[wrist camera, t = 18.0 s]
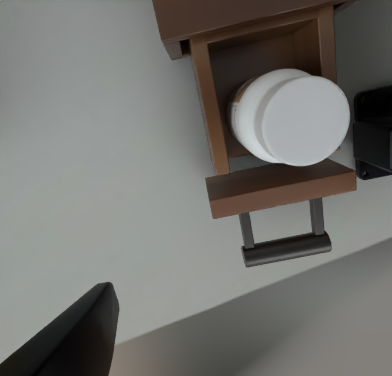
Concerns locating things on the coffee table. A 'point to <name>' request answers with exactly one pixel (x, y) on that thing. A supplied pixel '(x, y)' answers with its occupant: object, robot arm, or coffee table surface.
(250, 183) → the drawer
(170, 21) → the cabinet
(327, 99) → the pill bottle
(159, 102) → the coffee table surface
